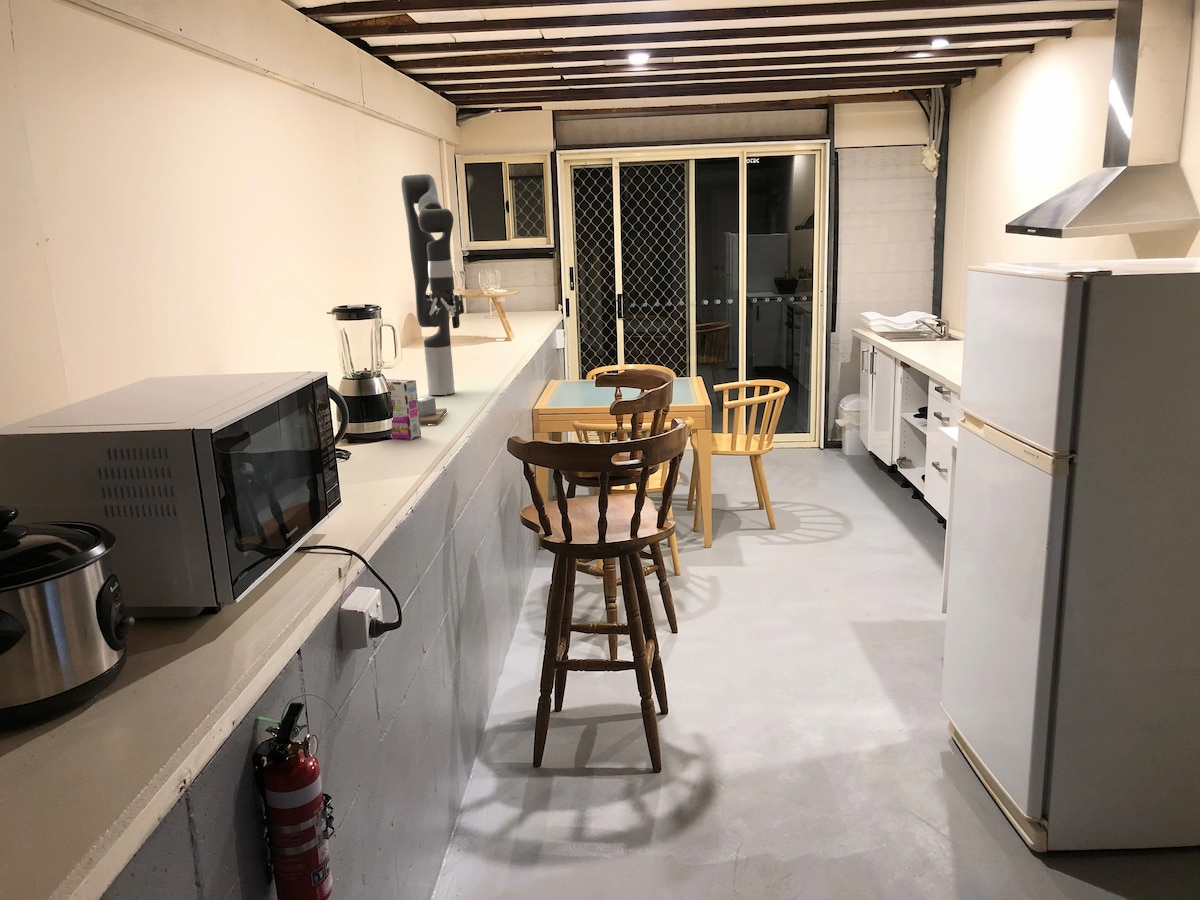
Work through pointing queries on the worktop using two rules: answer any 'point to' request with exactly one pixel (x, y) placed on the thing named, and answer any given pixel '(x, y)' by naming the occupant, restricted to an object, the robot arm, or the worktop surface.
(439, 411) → the walnut base
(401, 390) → the candy bar box
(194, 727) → the worktop surface
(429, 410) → the hollow metal block
